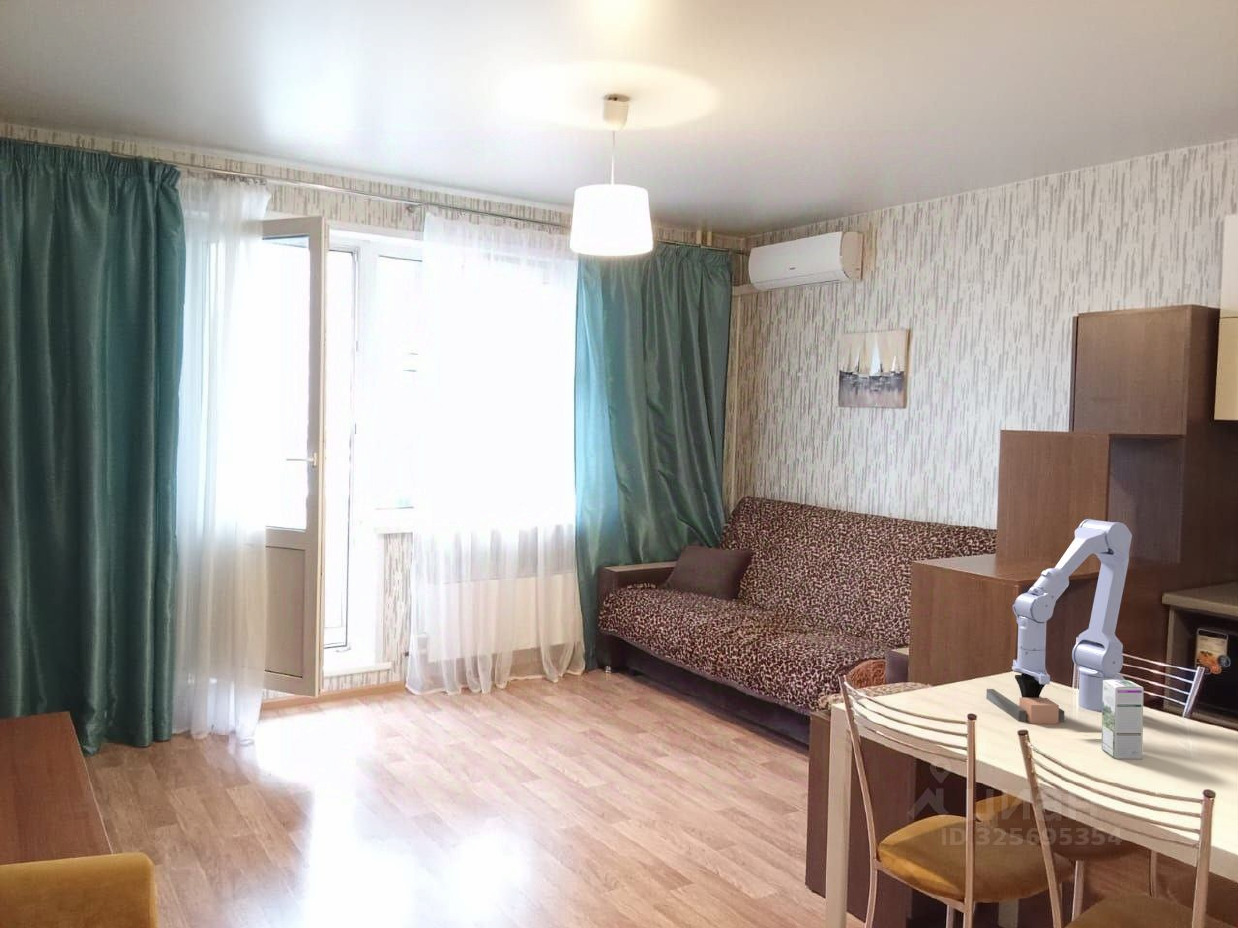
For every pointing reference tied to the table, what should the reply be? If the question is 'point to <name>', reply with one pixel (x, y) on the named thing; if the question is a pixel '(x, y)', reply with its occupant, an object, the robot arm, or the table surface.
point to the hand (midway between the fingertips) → (1029, 708)
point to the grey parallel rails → (1012, 706)
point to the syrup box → (1122, 719)
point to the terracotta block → (1040, 710)
